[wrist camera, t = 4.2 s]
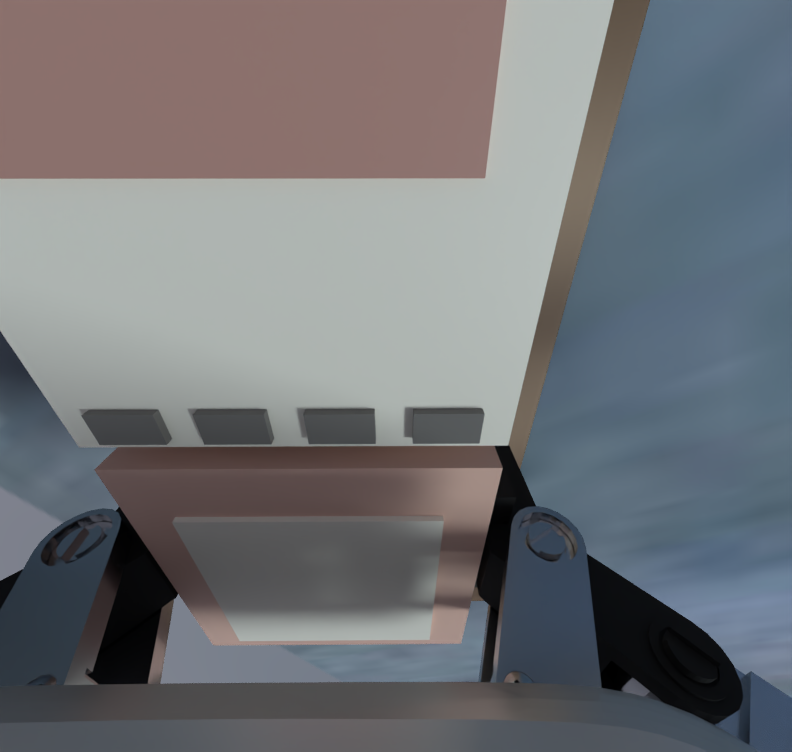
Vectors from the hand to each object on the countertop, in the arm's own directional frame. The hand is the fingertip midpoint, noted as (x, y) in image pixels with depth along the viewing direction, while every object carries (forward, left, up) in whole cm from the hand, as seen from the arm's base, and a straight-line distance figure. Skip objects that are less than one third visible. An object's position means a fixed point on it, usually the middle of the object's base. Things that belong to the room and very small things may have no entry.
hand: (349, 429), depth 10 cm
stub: (0, 0, 0) cm, 0 cm away
